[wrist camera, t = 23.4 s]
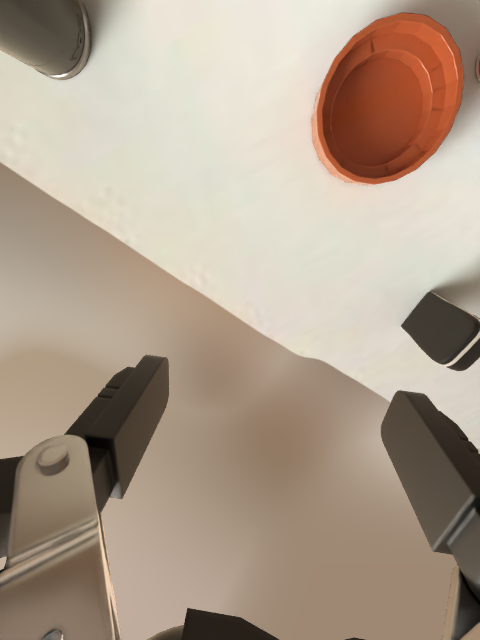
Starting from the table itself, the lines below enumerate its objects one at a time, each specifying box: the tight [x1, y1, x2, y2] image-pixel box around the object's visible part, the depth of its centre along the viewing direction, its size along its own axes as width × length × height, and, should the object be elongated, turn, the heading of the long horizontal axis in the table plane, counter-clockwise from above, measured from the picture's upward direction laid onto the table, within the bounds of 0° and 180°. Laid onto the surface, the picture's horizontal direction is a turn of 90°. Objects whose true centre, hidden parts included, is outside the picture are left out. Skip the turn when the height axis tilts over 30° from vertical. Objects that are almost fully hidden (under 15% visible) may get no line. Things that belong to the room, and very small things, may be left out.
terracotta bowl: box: [311, 12, 464, 185], centre depth 30 cm, size 14×14×4 cm
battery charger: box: [401, 292, 480, 371], centre depth 37 cm, size 7×4×11 cm, turn 157°
